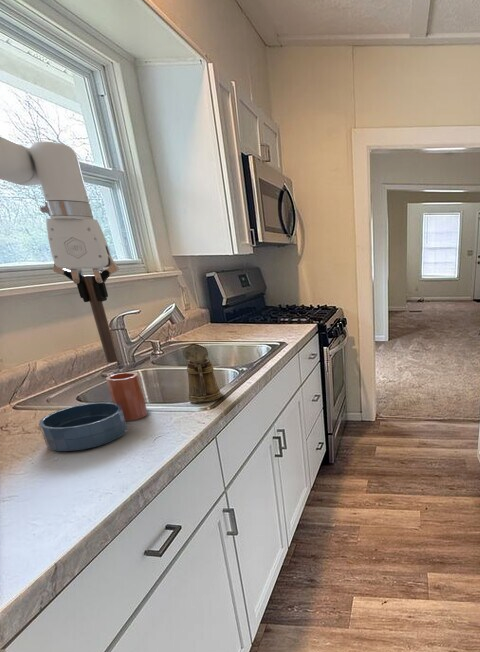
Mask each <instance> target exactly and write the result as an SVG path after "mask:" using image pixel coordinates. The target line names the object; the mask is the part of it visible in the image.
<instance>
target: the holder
mask: <svg viewBox="0 0 480 652" xmlns="http://www.w3.org/2000/svg"><path fill="white" fill-rule="evenodd" d="M105 379H106V383H107V387H108V391H109V394H110V398H111V402H112V403H116V404H118V405H120V406H121V407H122V410H123V414H124V417H125V421H126V422H132V421H136V420H140V419H143V418H145V417H147V415H148V408H147V405H146V402H145V397H144V394H143V389H142V386H141V382H140V381H141V380H140V377H139V374H138V373H137V372H134V371H127V372H119V373H114V374H110V375H108V376H106V378H105Z"/></svg>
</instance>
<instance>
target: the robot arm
mask: <svg viewBox="0 0 480 652" xmlns="http://www.w3.org/2000/svg"><path fill="white" fill-rule="evenodd" d="M0 180H2V181H5V182H9V183H12V184H16V185H19V186H30V187H31V186H39V185H40V186H41V190H42V193H43V194H42V195H43V197H44V200H45V201H44V204H43V205H40V206H39V210H40V212H41V213H42V214H48V216H49V217H50V218H46V221H45V222H46V232H47V233H46V234H47V238H48V244H49V249H50V253H51V257H52V260H53V268H52V270H53V272H54V273H57V274H60V275H62V276H64V277H67V278H68V279H69V280H70V281H72V282H73V283H74V284H76V287H77V291H78V294H79V297H80V298H81V299H82V300H83V302H84V303H90V301H89V298H88V294H87V291H86V288H85V284H84V281H83V277H82V276H84V274H83V270H85V269H87V270H88V269H92V272H93V275H94V276H95V279H96V283H95V284H94V285H95V289H96V292H97V296H98V299H99V301H100V302H101V301H102V302H105V301H107V300H108V298H109V293H108V290H107V285H106V282H107V280H108V279H109V277H110V276H111V275H113V274H114V273H117V272H119V271H120V267H119V265H117V264H116V262H115V261H114V260H113V258H112V255H111V250H110V248H109V244H108V242H107V239H106V236H105V234H104V232H103V229H102V227H101V225H100V223H99V221H98V219H94V216H93V211H92V208H91V207H92V206H91V204H90V199H89V196H88V192H87V189H86V185H85V181H84V178H83V173H82V170H81V165H80V162H79V158H78V155H77V152H76V151H75V149H73V147H71V146H69V145H67V144H65V143H61V142H54V141H36V142H33V143H32V144H31V145H24V144H22V143H18V142H16V141H13V140H11V139H9V138H7V137H5V136H2V135H0ZM104 268H106V269H104ZM82 269H83V270H82Z"/></svg>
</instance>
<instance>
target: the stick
mask: <svg viewBox="0 0 480 652" xmlns="http://www.w3.org/2000/svg"><path fill="white" fill-rule="evenodd" d="M82 277H83V281H84V284H85V288H86V291H87V294H88V298H89V306H90V308H91V312H92V315H93V319H94V322H95V326H96V330H97V332H98V336H99V340H100V343H101V346H102V350H103V353H104V357H105V362H106V363H108V364H111V363H117V362H119V357H118V354H117V350H116V347H115V343H114V340H113V339H114V338H113V335H112V333H111V328H110V325H109V322H108V318H107V314H106V311H105V306H104V304H103V301H101V302H100V301H99V299H98V296H97V292H96V289H95V285H94V284H95V283H96V279H95V276H94V274H93V275H91V274H87V275H83V276H82Z"/></svg>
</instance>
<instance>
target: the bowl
mask: <svg viewBox="0 0 480 652" xmlns="http://www.w3.org/2000/svg"><path fill="white" fill-rule="evenodd" d="M38 427H39V430H40V432H41V434H42V437H43V439H44V440H43V441H44V442H45V445H46V447H47V448H49V449H50V450H53V451H57V452H74V451H82V450H88V449H93V448H98V447H100V446H103V445H106V444H108V443H111V442H112V441H114V440H117V439H119V438H120V437H122V436H123V435H124V434H126V432H127V431H128V425H127V421H125V417H124V414H123V410H122V407H121V406H120V405H118V404H116V403H113V402H109V401H105V402H103V401H102V402H101V401H100V402H89V403H82V404H78V405H77V404H76V405H73V406H69V407H64V408H63V409H62V408H61V409H59V410H55V411H53V412H51V413H49V414H47V415H45V416H44V417H43V418H41V419H40V420H39V422H38Z"/></svg>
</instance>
